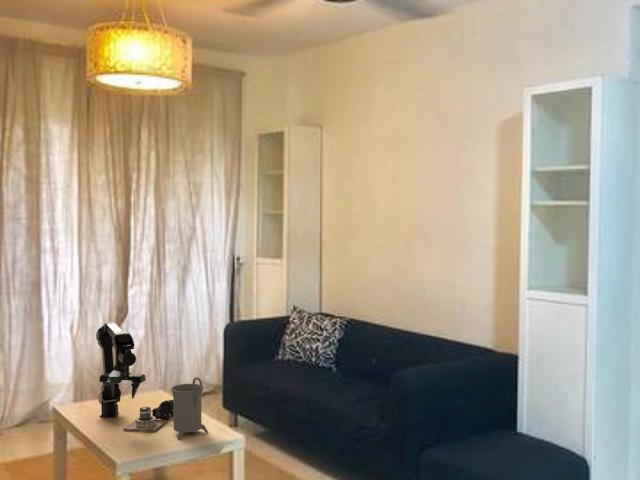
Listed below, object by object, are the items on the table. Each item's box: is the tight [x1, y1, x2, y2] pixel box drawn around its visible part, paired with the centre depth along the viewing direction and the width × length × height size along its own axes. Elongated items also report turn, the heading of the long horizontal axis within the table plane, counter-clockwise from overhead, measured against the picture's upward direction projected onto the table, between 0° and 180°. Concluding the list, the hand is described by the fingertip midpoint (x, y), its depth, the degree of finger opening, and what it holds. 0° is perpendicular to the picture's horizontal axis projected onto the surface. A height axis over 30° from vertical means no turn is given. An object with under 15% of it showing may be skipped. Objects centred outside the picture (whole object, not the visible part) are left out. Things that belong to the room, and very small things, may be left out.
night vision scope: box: [151, 399, 174, 421], centre depth 302 cm, size 8×18×10 cm
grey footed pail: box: [170, 376, 209, 441], centre depth 279 cm, size 19×15×25 cm
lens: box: [139, 406, 152, 421], centre depth 289 cm, size 5×5×7 cm
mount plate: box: [123, 415, 168, 433], centre depth 289 cm, size 14×14×4 cm
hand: (122, 397), depth 287 cm, fingers open, 9 cm apart
